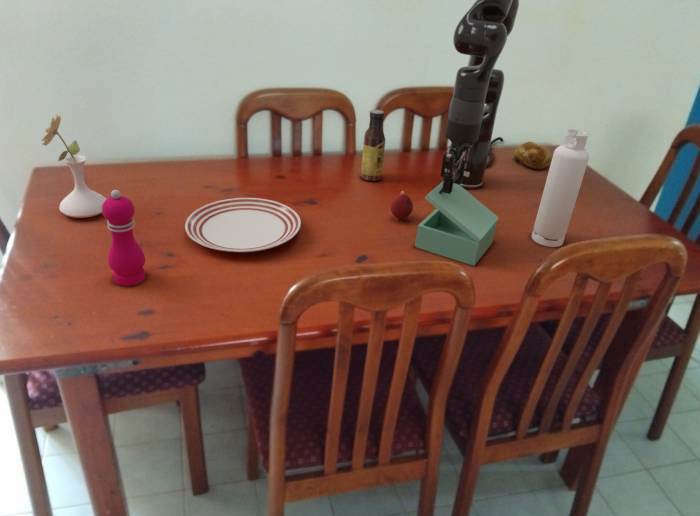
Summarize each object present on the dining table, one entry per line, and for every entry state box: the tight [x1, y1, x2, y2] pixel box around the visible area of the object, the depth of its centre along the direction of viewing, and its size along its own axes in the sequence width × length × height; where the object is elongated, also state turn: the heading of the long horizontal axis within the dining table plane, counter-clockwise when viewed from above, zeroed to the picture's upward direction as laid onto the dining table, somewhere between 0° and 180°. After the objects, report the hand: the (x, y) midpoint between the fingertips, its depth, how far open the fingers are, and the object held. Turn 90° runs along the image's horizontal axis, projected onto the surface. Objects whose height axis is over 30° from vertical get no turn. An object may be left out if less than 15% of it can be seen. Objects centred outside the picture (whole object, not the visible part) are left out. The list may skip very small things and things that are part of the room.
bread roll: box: [513, 141, 552, 170], centre depth 197 cm, size 13×10×8 cm
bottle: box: [530, 128, 590, 248], centre depth 147 cm, size 8×8×28 cm
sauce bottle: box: [360, 109, 386, 182], centre depth 174 cm, size 6×6×20 cm
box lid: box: [424, 171, 500, 243], centre depth 141 cm, size 16×14×6 cm
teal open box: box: [414, 208, 498, 267], centre depth 147 cm, size 15×14×6 cm
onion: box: [389, 190, 414, 221], centre depth 156 cm, size 6×6×8 cm
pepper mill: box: [101, 189, 146, 287], centre depth 121 cm, size 7×7×20 cm
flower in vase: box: [41, 114, 107, 219], centre depth 142 cm, size 13×11×25 cm
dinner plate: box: [184, 197, 302, 253], centre depth 145 cm, size 27×27×3 cm
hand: (451, 187), depth 142 cm, fingers closed on box lid, 6 cm apart
